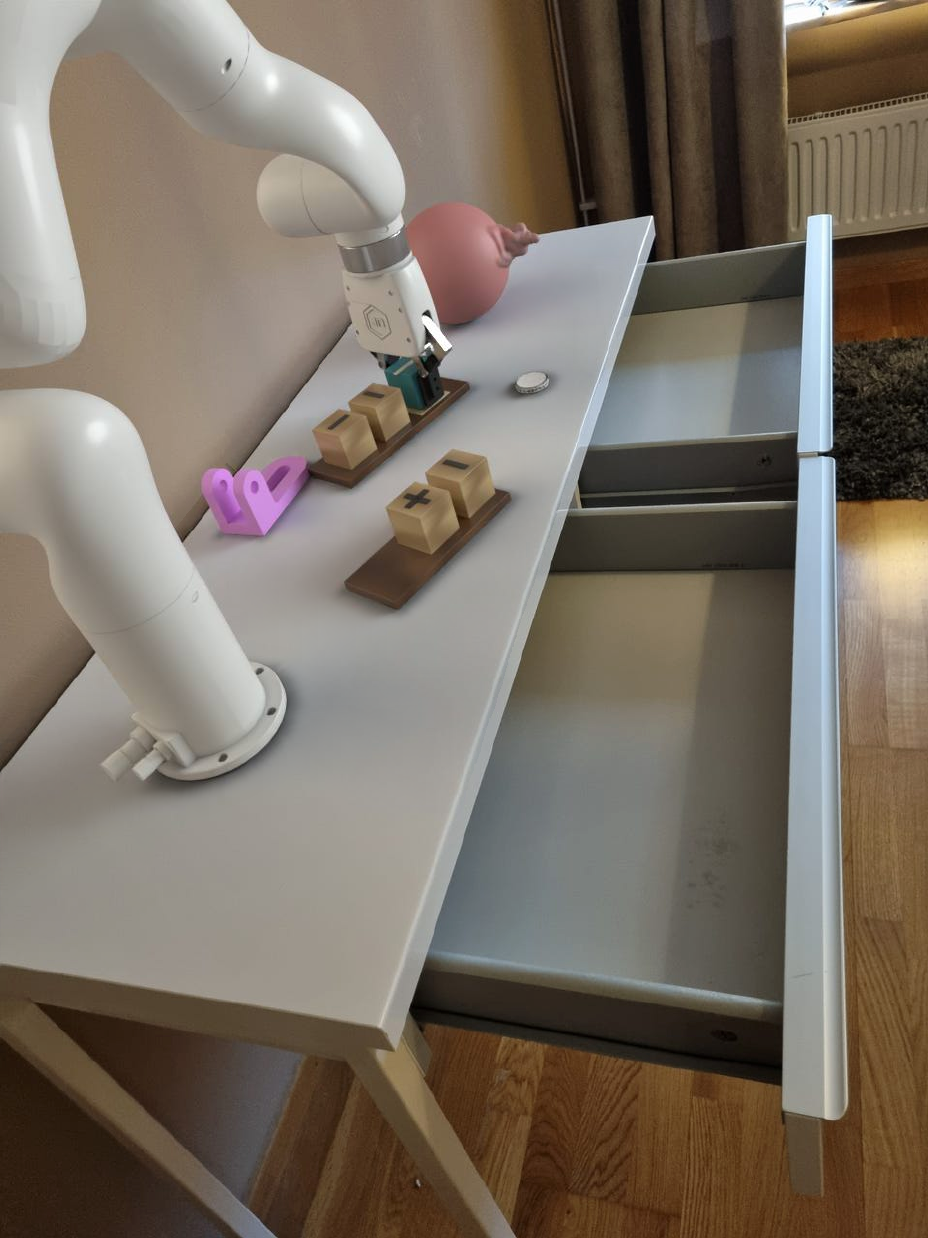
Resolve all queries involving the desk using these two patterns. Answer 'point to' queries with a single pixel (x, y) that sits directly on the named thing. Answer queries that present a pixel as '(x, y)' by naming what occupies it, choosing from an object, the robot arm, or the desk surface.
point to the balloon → (465, 257)
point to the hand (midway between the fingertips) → (418, 396)
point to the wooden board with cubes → (430, 527)
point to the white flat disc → (531, 382)
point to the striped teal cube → (406, 381)
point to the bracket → (253, 494)
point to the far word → (373, 430)
